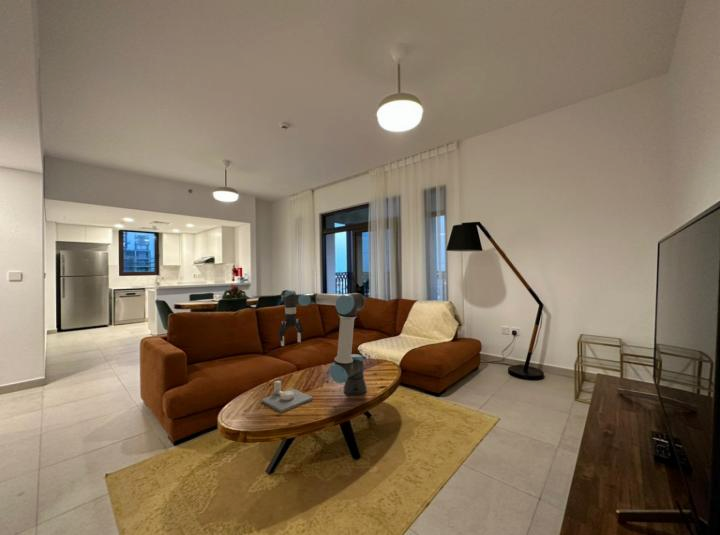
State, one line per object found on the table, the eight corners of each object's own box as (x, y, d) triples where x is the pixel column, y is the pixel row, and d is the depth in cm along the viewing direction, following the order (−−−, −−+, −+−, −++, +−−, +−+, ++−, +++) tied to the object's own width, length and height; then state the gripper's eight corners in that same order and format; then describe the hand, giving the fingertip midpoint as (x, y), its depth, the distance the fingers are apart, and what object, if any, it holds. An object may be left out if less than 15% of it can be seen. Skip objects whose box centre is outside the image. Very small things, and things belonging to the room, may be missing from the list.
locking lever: (296, 397, 174) (296, 385, 174) (285, 401, 168) (284, 389, 168) (281, 390, 185) (281, 379, 186) (270, 394, 180) (270, 382, 180)
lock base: (312, 399, 174) (312, 396, 174) (281, 412, 158) (281, 409, 158) (292, 390, 189) (292, 387, 189) (261, 401, 173) (261, 399, 173)
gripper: (302, 311, 212) (302, 339, 211) (271, 315, 193) (272, 346, 192) (308, 311, 206) (308, 341, 206) (277, 315, 188) (278, 348, 187)
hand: (291, 343), depth 199 cm, fingers open, 13 cm apart
